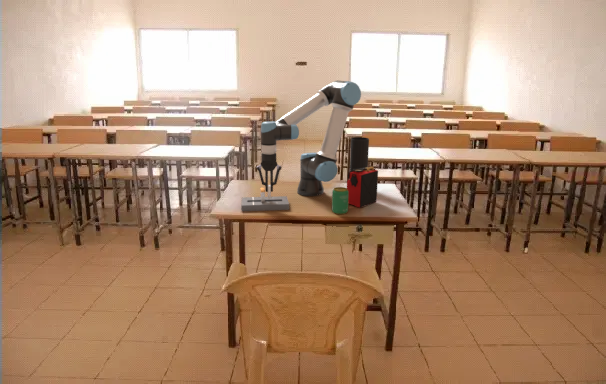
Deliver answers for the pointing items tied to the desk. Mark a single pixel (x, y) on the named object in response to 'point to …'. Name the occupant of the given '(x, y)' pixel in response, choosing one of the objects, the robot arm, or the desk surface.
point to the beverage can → (340, 200)
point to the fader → (262, 194)
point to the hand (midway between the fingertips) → (269, 197)
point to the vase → (359, 153)
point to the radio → (362, 186)
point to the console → (264, 203)
